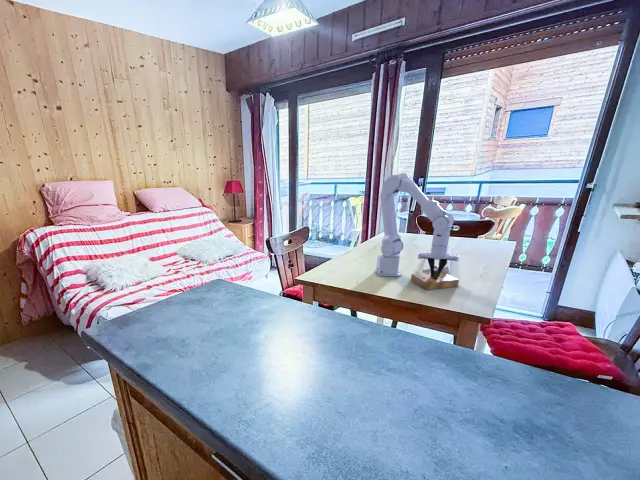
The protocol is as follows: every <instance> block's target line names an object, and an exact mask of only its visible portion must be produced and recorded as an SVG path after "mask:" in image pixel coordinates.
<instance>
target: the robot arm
mask: <svg viewBox="0 0 640 480" xmlns="http://www.w3.org/2000/svg"><path fill="white" fill-rule="evenodd" d="M382 183H383V186H382V190H381V192H380V195H379V197H380V198H379V199H380V207H381V215H382V224H383V233H384V236H383V237H382V240H381V246H380V253H381V255H377V256H376V257H377V258H376V265H375V266H376V267H375V273H376V274H377V275H378V276H379V277H401V273H400V272H399V268H400V259H401V251H403V250H404V243H403V241H402V237H401V235H400V234H399V233H398V224H397V215H396V214H397V213H396V207H395V206H396V204H395V197H396V196H397V194H398V193H399V192H402V193H407V194H408V195H409V196H410V197H411V198H412V199H413V200H414V201H416V202H417V204H419V205H420V211H422V213H423V214H424V215H425V216H426V217H427V218H428V219H429V220H430V222H432V228H433V233H432V240H431V248H430V250H431V253H427V252H421V253H420V252H419V253H417V254H418V255H417V259H418V260H426V259H428V263H429V266H430V269H431V276H433V269H434V264H435V260H434V259H437V260H439V267H438V271H439V272H438V277H439V275H440V273H441V271H442V269H443V268H444V266H445V265H446V264H447V260H450V261H452V262H453V261H454V262H459V259H460V256H459V255H458V254H451V253H450V254H446V253H447V247H449V240H450V236H451V227H452V226H453V225H454V223H455V218H454V216H453V214H452V213H449V212H447V210H444V209H443V208H442V207H441V206H440V205H439V201H437V200H435V199H429V198H428V197H427V196H426V194H425V193H424V192H423V191H422V190H421V189H420V187H418V185H417V184H416V183H415V181H414V180H413V178H412V177H410V176H409V175H408V174H407V173H404V172H400V173H398V174H390V175H389V176H387V177H386V179H385V180H384V181H383V182H382Z"/></svg>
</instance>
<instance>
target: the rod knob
mask: <svg viewBox="0 0 640 480" xmlns="http://www.w3.org/2000/svg"><path fill="white" fill-rule="evenodd" d="M438 272H439V271H438V267H437V266H434V269H433V279H437V278H438Z"/></svg>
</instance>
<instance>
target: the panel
mask: <svg viewBox="0 0 640 480" xmlns="http://www.w3.org/2000/svg"><path fill="white" fill-rule="evenodd" d="M410 281H411V282H412V283H414V284H416V285H418V286H419V287H420V288H421V289H424V290H427V291H429V290H438V289H446V288H455V287H459V284H460V283H459V281H460V279H458V278H457V277H454V276H452V275H448V274H446V273H444V272H442V271H441V273H440V275H439V277H438V278H437V279H433V276H431V272H427V273H424V272H419V273H418V272H417V273H412V274H411V276H410Z"/></svg>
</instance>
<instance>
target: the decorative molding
mask: <svg viewBox="0 0 640 480" xmlns="http://www.w3.org/2000/svg"><path fill="white" fill-rule="evenodd" d="M426 253H431V249H427V252H426ZM446 254H450V255H451V249H450V246H448V247H447V253H446ZM424 260H425V261H424V264H423V267H422V273H427V272H431V269H430V266H429V263H428V259H424ZM434 260H435V264H434V266H437V267H439V260H437V259H434ZM450 271H451V260H447V264H446V265H445V266H444V268H443V269H442V272H444V273H446V274H448V275H450V273H451V272H450Z"/></svg>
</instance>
